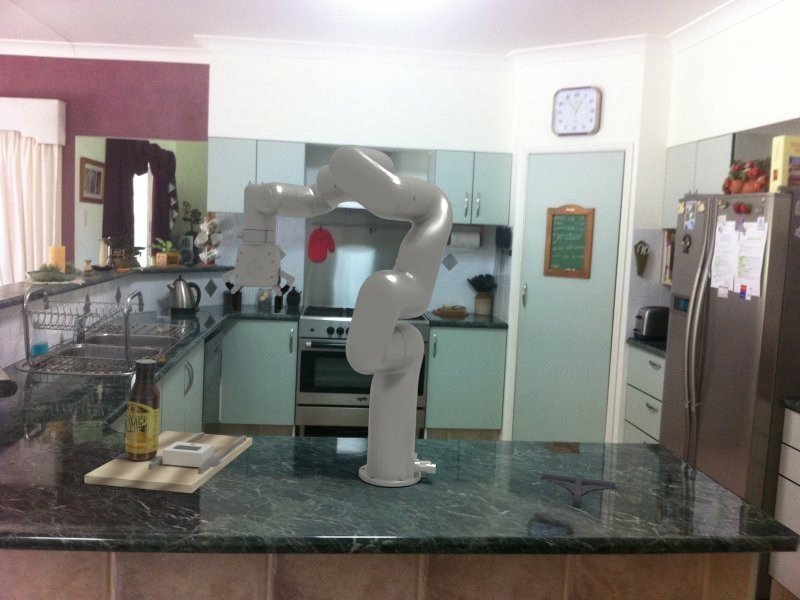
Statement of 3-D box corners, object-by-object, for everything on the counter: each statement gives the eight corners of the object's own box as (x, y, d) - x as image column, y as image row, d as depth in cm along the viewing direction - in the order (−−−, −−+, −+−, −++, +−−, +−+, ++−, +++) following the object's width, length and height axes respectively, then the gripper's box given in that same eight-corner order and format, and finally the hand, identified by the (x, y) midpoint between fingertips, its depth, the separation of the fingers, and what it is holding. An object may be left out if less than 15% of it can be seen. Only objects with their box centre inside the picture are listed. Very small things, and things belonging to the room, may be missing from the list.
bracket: (536, 504, 126) (537, 490, 126) (542, 479, 141) (543, 466, 140) (617, 517, 122) (618, 502, 122) (614, 490, 137) (615, 476, 136)
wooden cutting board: (252, 444, 154) (252, 433, 154) (191, 493, 123) (191, 479, 122) (165, 437, 157) (165, 426, 157) (84, 483, 125) (84, 470, 125)
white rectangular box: (176, 454, 138) (176, 440, 138) (213, 458, 137) (214, 444, 137) (162, 463, 132) (162, 449, 132) (201, 467, 131) (201, 452, 131)
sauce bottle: (118, 458, 135) (119, 360, 133) (140, 450, 140) (142, 356, 139) (143, 464, 132) (145, 364, 131) (165, 455, 138) (167, 360, 137)
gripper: (217, 236, 153) (215, 311, 154) (291, 239, 151) (289, 315, 153) (229, 237, 161) (227, 308, 162) (299, 240, 159) (297, 312, 160)
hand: (257, 311), depth 157 cm, fingers open, 9 cm apart
